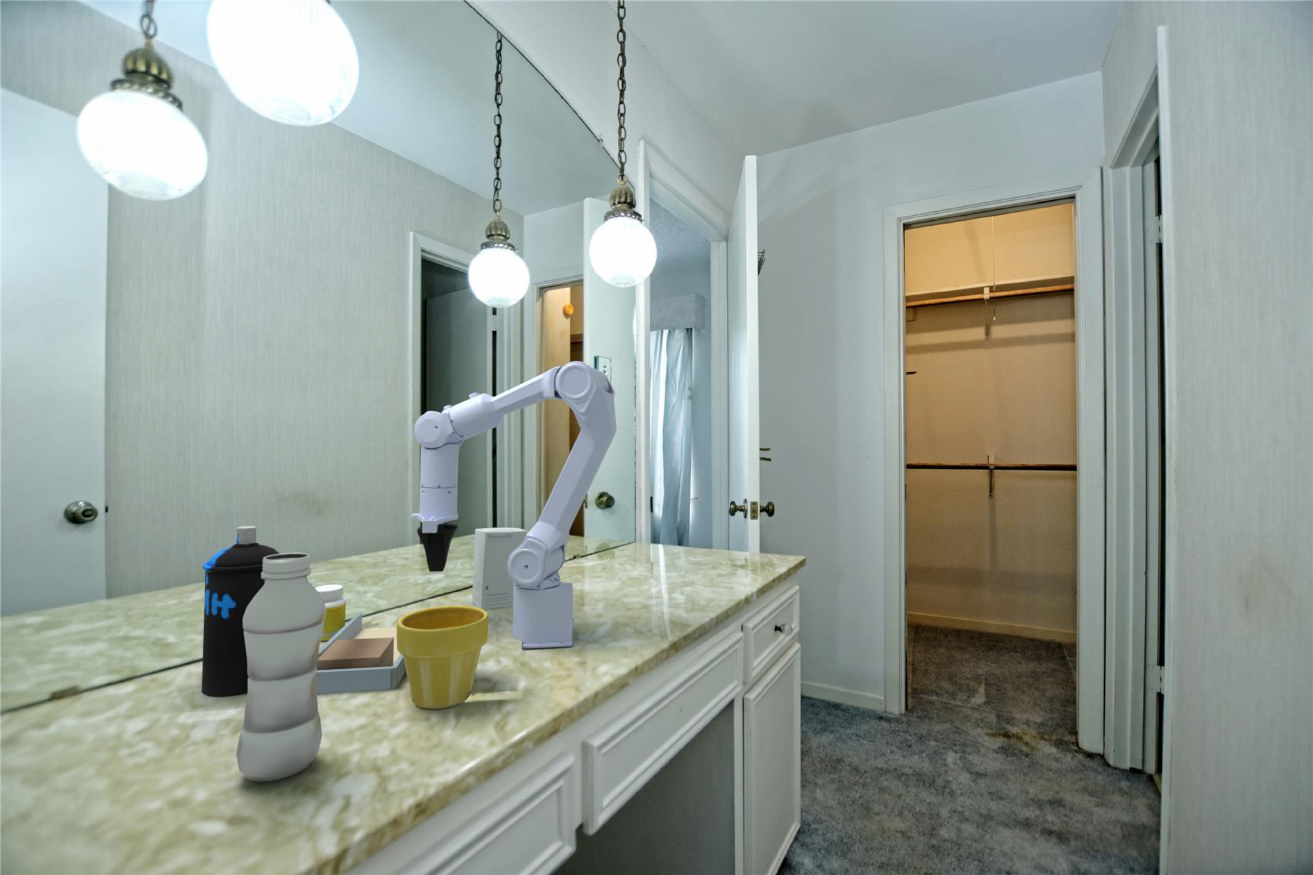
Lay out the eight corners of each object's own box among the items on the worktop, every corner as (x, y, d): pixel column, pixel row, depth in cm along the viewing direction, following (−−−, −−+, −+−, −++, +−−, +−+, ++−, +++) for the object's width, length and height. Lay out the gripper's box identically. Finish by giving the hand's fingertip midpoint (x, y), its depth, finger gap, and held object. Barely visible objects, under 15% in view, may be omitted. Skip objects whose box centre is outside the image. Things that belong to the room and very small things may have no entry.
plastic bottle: (262, 752, 55) (269, 549, 56) (334, 751, 56) (340, 550, 56) (217, 793, 49) (224, 563, 49) (299, 791, 50) (305, 564, 50)
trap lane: (464, 630, 92) (465, 609, 92) (439, 694, 69) (439, 665, 69) (357, 635, 89) (358, 613, 89) (292, 703, 66) (293, 673, 66)
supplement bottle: (351, 638, 87) (353, 584, 87) (330, 649, 83) (332, 592, 83) (322, 637, 88) (324, 583, 88) (300, 647, 83) (302, 590, 83)
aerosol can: (274, 671, 75) (278, 520, 75) (289, 692, 69) (293, 528, 69) (194, 689, 69) (199, 525, 69) (202, 713, 63) (208, 534, 63)
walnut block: (393, 663, 76) (394, 637, 76) (378, 685, 69) (379, 657, 69) (336, 666, 74) (337, 639, 74) (315, 689, 67) (316, 660, 67)
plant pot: (419, 677, 74) (421, 602, 74) (497, 680, 73) (499, 605, 73) (377, 715, 63) (379, 628, 63) (468, 719, 63) (470, 631, 63)
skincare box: (481, 616, 100) (483, 532, 100) (470, 607, 105) (472, 527, 105) (526, 609, 105) (528, 529, 105) (513, 601, 110) (515, 524, 110)
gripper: (422, 483, 98) (420, 561, 98) (401, 490, 83) (399, 582, 83) (464, 483, 99) (462, 560, 99) (451, 490, 85) (449, 581, 85)
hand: (436, 570), depth 91 cm, fingers closed
